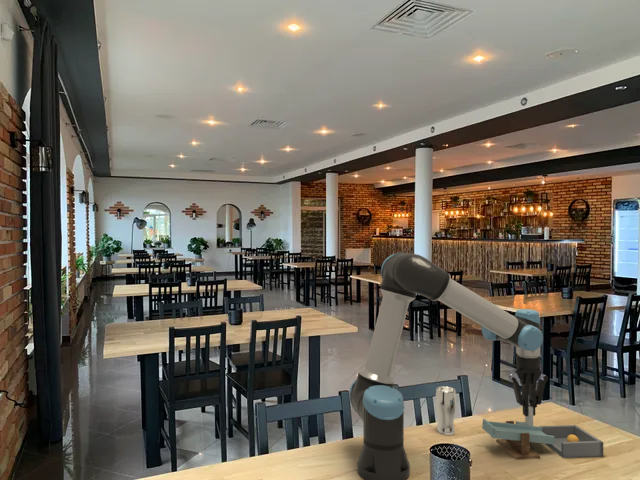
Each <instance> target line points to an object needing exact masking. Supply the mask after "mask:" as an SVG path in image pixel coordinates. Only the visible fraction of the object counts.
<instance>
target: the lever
mask: <svg viewBox="0 0 640 480" xmlns="http://www.w3.org/2000/svg"><path fill="white" fill-rule="evenodd" d="M481 428H482V430H484V431H485V432H486V433H487V434H488V435H489V436H490V437H491V438H493V439H508V440H517V441H521V433H529V441H530V443H537V444H544V443H546V444H554V436H550V435H546V434H545V433H543V432H542V427H539V426H535V425H533V426H528V425H526V424H525V421H516V420H515V423H514V424H510V423H506V422H501V421H500V422H499V421H489V420H487V419H486V418H483V419H482V426H481ZM546 444H545V445H546Z"/></svg>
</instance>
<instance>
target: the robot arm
mask: <svg viewBox="0 0 640 480" xmlns="http://www.w3.org/2000/svg"><path fill="white" fill-rule="evenodd" d="M380 275H381V279H382V280H381V284H380V287H379V288H380V289H379V291H381V294H382V299H381V304H380V307H379V312H378V316H377V318H376V323H375V327H374V331H373V335H372V337H371V342H370V346H369V350H368V354H367V358H366V361H365V366H364V367H363V368H362V369H360V370H358V372H357V373H358V374H357V378H356V379H355V380H354V381H353V382H352V384H351V385H350V388H349V392H348V393H349V394H348V397H349V401H350V404H351V408H352V409H353V411H354V412H355V413H356V414H357V415H358V416H359V418H360V419H361V421H362V423H363V435H362V436H363V443H362V447H361V451H360V453H359V456H358V460H357V473H358V475H359V476H360V477H361V478H362V479H364V480H408V479H409V477H410V475H411V471H410V470H411V466H410V461H409V458H408V454H407V452H406V449H405V445H404V442H405V441H404V436H405V435H404V433H405V430H404V429H405V428H404V427H405V425H404V424H405V423H404V415H405V414H404V413H405V402H404V396H403V394H402V393H401V392H400V390H398V389H396V388H394V383H395V381H394V379H393V377H392V371H393V368H394V364H395V360H396V356H397V352H398V348H399V344H400V340H401V338H402V337H401V336H402V332H403V328H404V325H405V321H406V315H407V313H408V309H409V305H410V303H411V302H412V301H414V300H416V297H417V295H420V296H423V297H425V298H427V299H429V300H430V301H432V302H436V301H438V302H440V303H442V304H444V305H445V306H447V307H448V308H451V310H454V311H455V312H458V313H459V314H461V315H462V316H465V317H466V318H468V319H470V321H473V322H474V323H476V324H478V325H479V326H481V333H482V336H483V338H484V339H485V340H486V341H493V342H495V341H501V342H503V343H506V344H509V345H512V346H514V347H515V350H516V352H515V353H516V357H515V358H516V360H515V363H516V370H515V373H514V374H513V375H509V376H508V379H509V380H510V382H511V385H512V389H513V391H514V396H515V400H516V403H517V404H519V405H520V406H522V415H523V416H524V422H525V424H526V425H528V426H534V416H536V408H537V407H538V405H539V406H540V405H541V404H542V402H543V396H544V390H545V386H546V383H547V382H548V380H549V377H548V376H547V375H546V374H543V373H542V370H541V357H540V356H541V345H543V342H544V341H543V340H544V336H543V333H542V331H541V317H540V313H539V311H538V310H535V309H531V308H530V309H529V308H527V309H526V308H520V309H517V310H516V311H515V314H514V315H513V314H510V313H509V312H508V311H505V310H504V308H503V309H502V308H501V307H499V306H497V305H496V304H494V303H493V302H491V301H490V300H487V299H486V298H484V297H483V296H481V295H480V294H478V293H476V292H474V291H473V290H470V288H468V287H466V286H464V285H462V284H460V283H459V282H457V281H456V280H454V279H452V278H451V274H450V273H449V272H447V271H446V270H444V269H443V268H441V267H440V266H438V265H436V264H435V263H434V262H432V261H430V260H429V259H427V258H426V257H424V256H422V255H419V254H416V253H407V252H397V253H393V254H391V255H390V256H388V257H386V259H384V260H383V262H382V265H381V268H380ZM519 381H520V384H519ZM520 385H521V388H520Z"/></svg>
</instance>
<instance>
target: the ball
mask: <svg viewBox="0 0 640 480" xmlns="http://www.w3.org/2000/svg"><path fill="white" fill-rule="evenodd" d="M567 442H579V439H578V437H577V436H575V435H569V436H568V437H567Z"/></svg>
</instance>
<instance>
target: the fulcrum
mask: <svg viewBox="0 0 640 480" xmlns="http://www.w3.org/2000/svg"><path fill="white" fill-rule="evenodd" d="M505 423H510V424H515V421H514V420H506V421H505ZM495 439H496V440H495V441H496V443H497V444H498V445H499V446H500V447H502V449H504V451H505V452H506V453H508V454H509V455H510V456H511V457H512V458H513V459H514V460H529V459H530V460H532V459H533V460H534V459H541V455H540V454H539V453H537V452H536V451H535V450H534V449H533V448H531V447H530V445H531V444H530V443H531V442H530V441H529V433H521V441H517V440H508V439H498V438H495Z"/></svg>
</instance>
